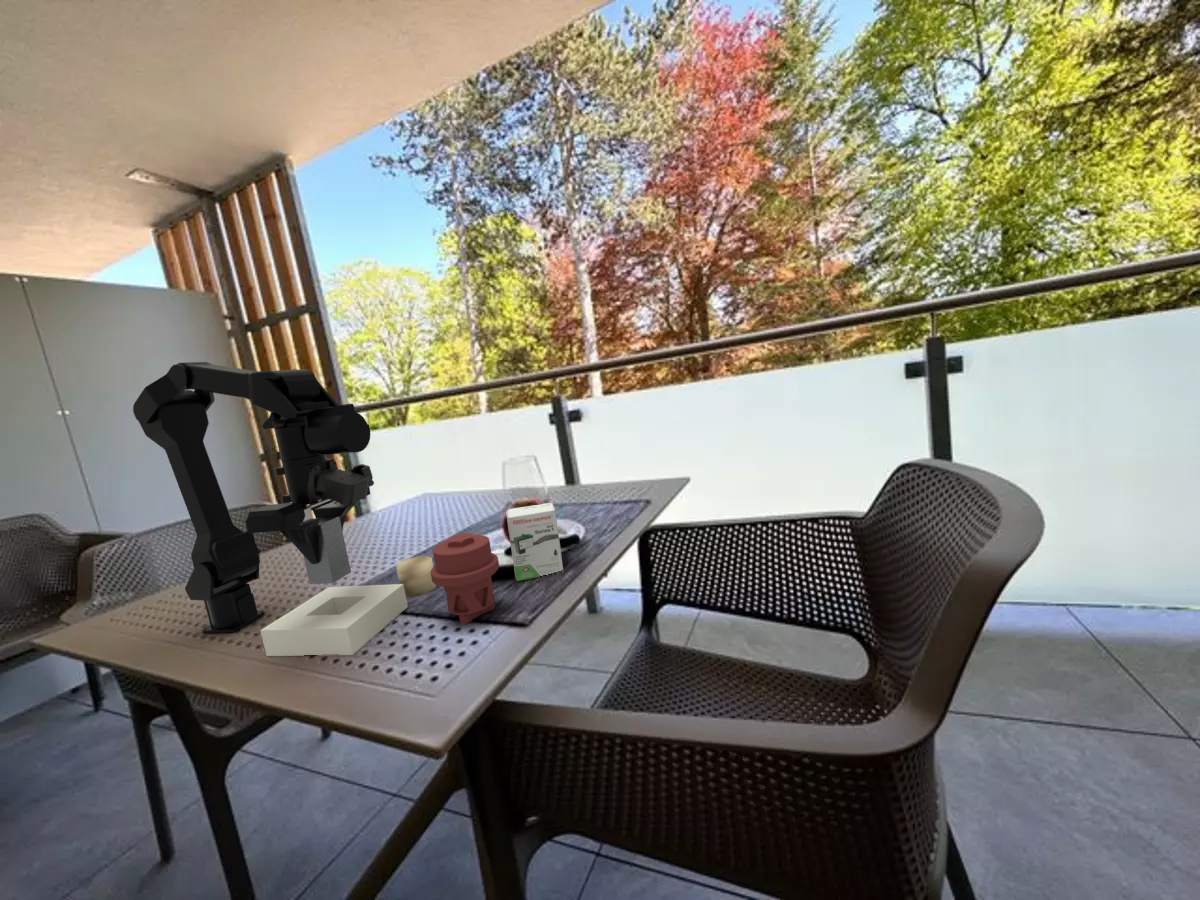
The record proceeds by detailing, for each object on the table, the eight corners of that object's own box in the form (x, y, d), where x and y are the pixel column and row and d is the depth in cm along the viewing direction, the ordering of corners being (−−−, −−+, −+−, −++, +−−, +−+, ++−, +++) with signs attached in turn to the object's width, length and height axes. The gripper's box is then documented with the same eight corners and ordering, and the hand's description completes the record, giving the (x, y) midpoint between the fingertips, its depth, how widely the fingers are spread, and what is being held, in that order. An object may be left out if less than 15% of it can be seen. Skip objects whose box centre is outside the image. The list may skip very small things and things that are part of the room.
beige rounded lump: (394, 597, 89) (389, 570, 88) (413, 582, 95) (408, 556, 94) (425, 596, 88) (420, 568, 87) (442, 581, 93) (437, 555, 93)
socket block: (266, 656, 73) (260, 630, 73) (333, 609, 87) (328, 587, 86) (352, 655, 70) (346, 628, 70) (407, 606, 84) (403, 583, 83)
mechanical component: (515, 597, 82) (490, 630, 73) (458, 599, 84) (427, 631, 75) (503, 524, 80) (476, 547, 71) (445, 528, 82) (411, 551, 73)
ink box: (516, 582, 89) (505, 516, 87) (514, 571, 93) (504, 509, 92) (564, 572, 90) (555, 508, 88) (561, 562, 95) (552, 501, 93)
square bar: (309, 584, 76) (296, 526, 74) (328, 573, 80) (316, 517, 78) (333, 583, 75) (320, 524, 74) (351, 572, 79) (339, 516, 77)
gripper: (303, 465, 64) (329, 582, 66) (390, 441, 82) (407, 534, 84) (229, 472, 66) (257, 585, 68) (329, 447, 84) (348, 537, 86)
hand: (325, 557), depth 77 cm, fingers closed on square bar, 4 cm apart
